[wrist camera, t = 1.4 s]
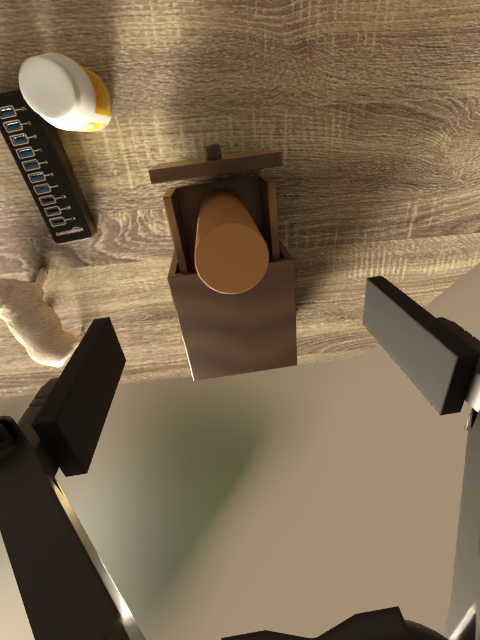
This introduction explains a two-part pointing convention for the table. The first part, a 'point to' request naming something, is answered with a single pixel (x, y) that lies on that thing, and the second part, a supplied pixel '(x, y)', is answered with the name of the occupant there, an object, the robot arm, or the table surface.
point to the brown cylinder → (228, 244)
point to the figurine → (35, 321)
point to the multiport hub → (45, 169)
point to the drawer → (187, 198)
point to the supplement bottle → (65, 93)
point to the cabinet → (237, 321)
